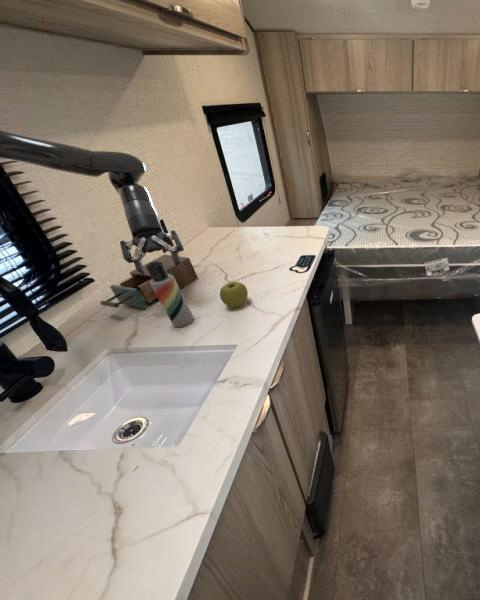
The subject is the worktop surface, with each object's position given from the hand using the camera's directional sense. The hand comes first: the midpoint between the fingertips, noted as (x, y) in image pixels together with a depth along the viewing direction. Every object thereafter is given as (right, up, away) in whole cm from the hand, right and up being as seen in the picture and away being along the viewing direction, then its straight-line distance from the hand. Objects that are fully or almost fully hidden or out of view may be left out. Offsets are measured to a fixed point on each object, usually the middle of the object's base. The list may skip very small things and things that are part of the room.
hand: (160, 269), depth 94 cm
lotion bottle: (+4, -16, +5) cm, 17 cm away
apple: (+17, -10, +12) cm, 23 cm away
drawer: (-17, -9, +15) cm, 24 cm away
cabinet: (-14, -4, +24) cm, 28 cm away
